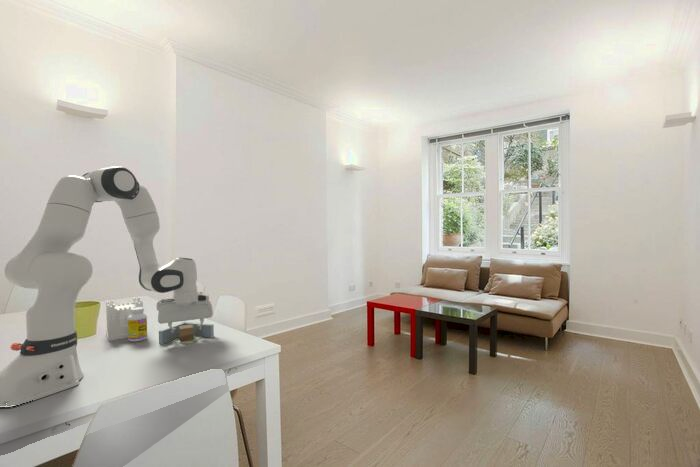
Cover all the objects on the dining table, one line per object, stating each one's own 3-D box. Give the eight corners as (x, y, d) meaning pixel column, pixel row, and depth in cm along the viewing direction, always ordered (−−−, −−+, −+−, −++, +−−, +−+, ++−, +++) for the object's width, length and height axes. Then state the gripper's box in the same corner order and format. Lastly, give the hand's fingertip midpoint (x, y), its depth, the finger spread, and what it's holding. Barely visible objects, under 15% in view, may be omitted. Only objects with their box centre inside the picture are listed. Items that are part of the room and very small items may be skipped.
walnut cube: (193, 339, 144) (193, 327, 144) (180, 341, 142) (179, 329, 141) (192, 336, 148) (192, 324, 148) (179, 338, 146) (179, 326, 146)
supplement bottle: (138, 342, 142) (137, 310, 142) (124, 341, 144) (123, 310, 143) (151, 337, 149) (150, 306, 149) (137, 336, 150) (136, 306, 150)
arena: (189, 347, 136) (189, 334, 136) (158, 343, 141) (158, 330, 141) (213, 336, 149) (213, 324, 149) (184, 333, 154) (184, 321, 154)
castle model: (107, 341, 145) (106, 305, 145) (106, 332, 157) (105, 299, 157) (144, 334, 153) (143, 301, 152) (140, 326, 165) (139, 295, 164)
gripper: (156, 301, 137) (157, 337, 137) (213, 295, 146) (213, 329, 147) (156, 298, 142) (157, 332, 143) (211, 293, 152) (212, 325, 152)
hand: (186, 331), depth 145 cm, fingers open, 8 cm apart
